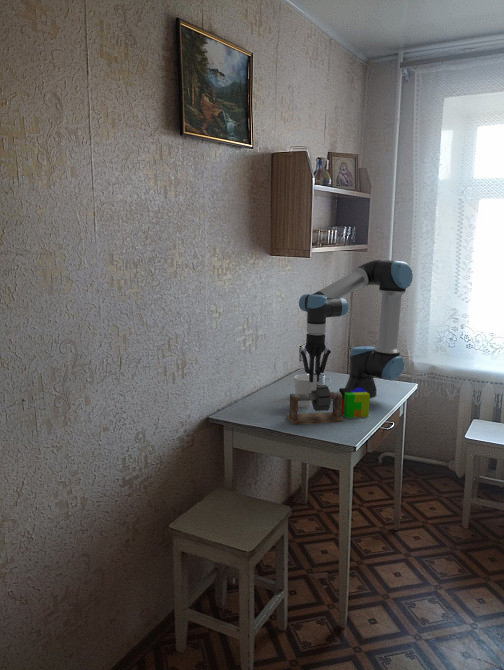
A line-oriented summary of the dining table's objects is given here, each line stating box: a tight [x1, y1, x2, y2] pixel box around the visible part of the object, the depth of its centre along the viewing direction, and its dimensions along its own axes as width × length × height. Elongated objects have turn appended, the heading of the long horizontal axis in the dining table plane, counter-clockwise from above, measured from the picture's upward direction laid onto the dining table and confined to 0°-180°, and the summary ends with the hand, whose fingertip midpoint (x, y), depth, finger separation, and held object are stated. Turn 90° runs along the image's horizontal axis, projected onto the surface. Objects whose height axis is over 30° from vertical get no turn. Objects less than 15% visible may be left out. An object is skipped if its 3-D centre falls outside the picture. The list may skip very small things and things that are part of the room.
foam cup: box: [293, 374, 312, 408], centre depth 244 cm, size 10×9×13 cm
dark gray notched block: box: [311, 384, 332, 412], centre depth 225 cm, size 5×10×10 cm, turn 12°
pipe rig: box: [286, 391, 345, 426], centre depth 226 cm, size 22×9×12 cm, turn 102°
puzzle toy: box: [338, 387, 371, 419], centre depth 235 cm, size 10×10×10 cm
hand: (313, 389), depth 224 cm, fingers closed
